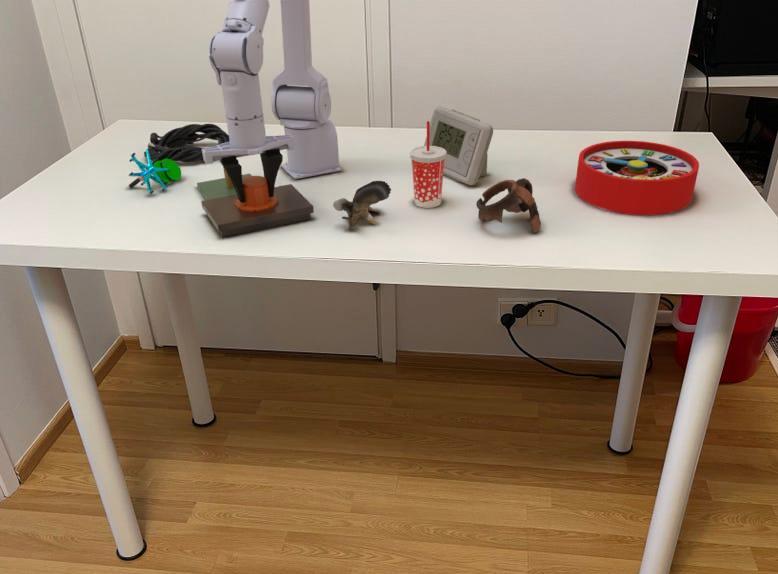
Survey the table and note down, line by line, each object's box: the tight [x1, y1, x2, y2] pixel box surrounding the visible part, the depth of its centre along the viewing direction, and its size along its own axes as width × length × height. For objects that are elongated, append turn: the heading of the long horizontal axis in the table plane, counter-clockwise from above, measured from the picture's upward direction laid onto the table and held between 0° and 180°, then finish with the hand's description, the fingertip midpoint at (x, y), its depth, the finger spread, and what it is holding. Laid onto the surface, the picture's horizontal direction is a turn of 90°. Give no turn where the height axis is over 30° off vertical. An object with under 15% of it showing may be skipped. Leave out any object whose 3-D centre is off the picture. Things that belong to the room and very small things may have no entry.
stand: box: [200, 183, 315, 239], centre depth 124 cm, size 16×11×2 cm
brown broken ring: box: [475, 177, 542, 234], centre depth 120 cm, size 12×10×8 cm
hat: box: [235, 175, 278, 212], centre depth 122 cm, size 7×7×4 cm
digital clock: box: [423, 105, 494, 186], centre depth 137 cm, size 16×9×11 cm, turn 23°
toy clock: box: [574, 140, 700, 216], centre depth 129 cm, size 20×6×20 cm
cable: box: [143, 123, 230, 163], centre depth 150 cm, size 17×14×4 cm
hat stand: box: [196, 166, 253, 200], centre depth 132 cm, size 10×10×6 cm
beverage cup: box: [409, 120, 446, 209], centre depth 125 cm, size 6×6×14 cm
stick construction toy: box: [128, 149, 182, 195], centre depth 136 cm, size 12×7×8 cm
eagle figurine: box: [332, 180, 392, 231], centre depth 121 cm, size 8×7×9 cm
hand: (255, 197), depth 123 cm, fingers closed on hat, 4 cm apart
